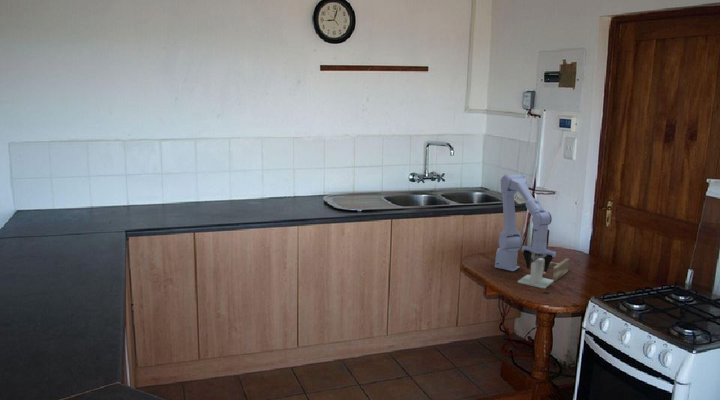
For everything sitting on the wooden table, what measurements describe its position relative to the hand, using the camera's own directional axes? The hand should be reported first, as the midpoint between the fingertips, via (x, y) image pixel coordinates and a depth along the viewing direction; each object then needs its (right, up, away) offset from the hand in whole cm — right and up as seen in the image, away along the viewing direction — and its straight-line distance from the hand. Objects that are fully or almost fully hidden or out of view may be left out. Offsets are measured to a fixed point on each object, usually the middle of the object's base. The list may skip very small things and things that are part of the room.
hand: (536, 269), depth 263 cm
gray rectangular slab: (0, -5, +1) cm, 5 cm away
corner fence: (+9, -3, +14) cm, 17 cm away
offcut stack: (+6, -3, +16) cm, 18 cm away
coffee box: (+11, +1, +35) cm, 36 cm away
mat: (0, -6, +1) cm, 6 cm away
